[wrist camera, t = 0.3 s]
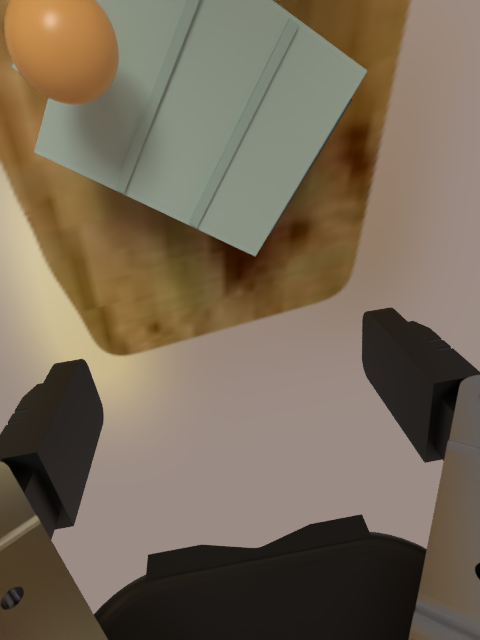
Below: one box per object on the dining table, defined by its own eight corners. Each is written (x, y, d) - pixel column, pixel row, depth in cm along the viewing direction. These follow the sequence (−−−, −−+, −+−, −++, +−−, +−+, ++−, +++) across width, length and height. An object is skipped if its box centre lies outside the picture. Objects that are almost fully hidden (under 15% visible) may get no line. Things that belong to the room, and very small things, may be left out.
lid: (66, -149, 16) (-3, -262, 10) (361, 70, 21) (426, 77, 16) (3, 132, 21) (-67, 162, 15) (253, 251, 26) (271, 307, 21)
